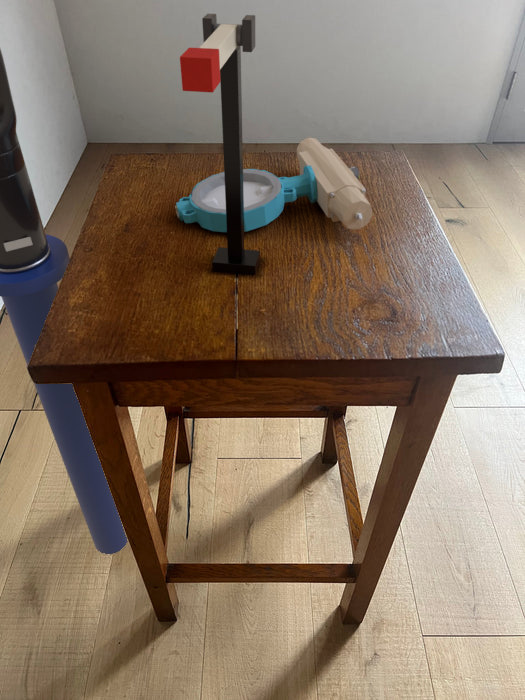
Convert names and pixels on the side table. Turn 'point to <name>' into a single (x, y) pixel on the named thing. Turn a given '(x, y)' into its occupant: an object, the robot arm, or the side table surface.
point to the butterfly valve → (283, 192)
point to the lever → (209, 58)
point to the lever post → (233, 154)
